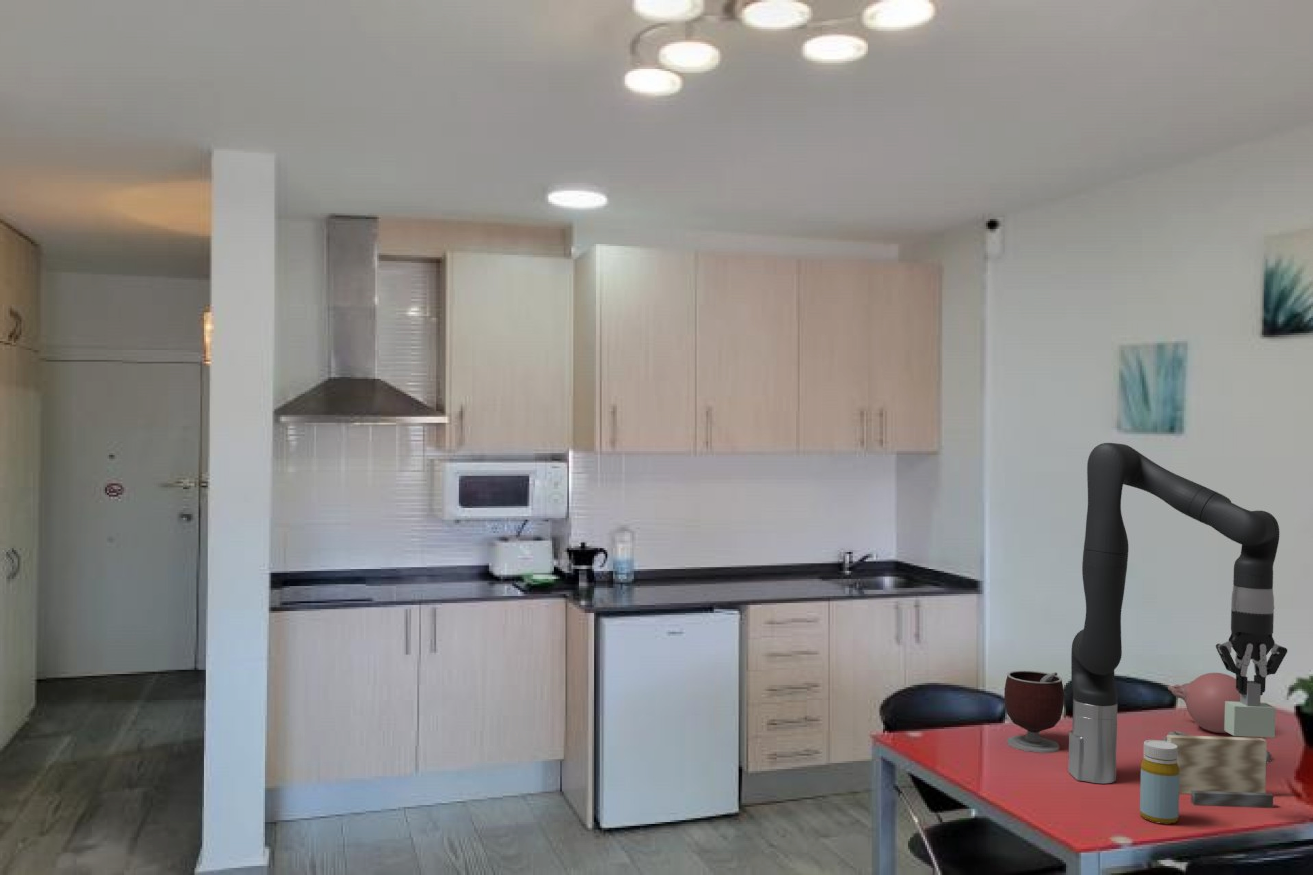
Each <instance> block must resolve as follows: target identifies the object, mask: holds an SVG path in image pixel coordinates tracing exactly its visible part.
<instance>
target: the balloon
mask: <svg viewBox="0 0 1313 875" xmlns="http://www.w3.org/2000/svg"><path fill="white" fill-rule="evenodd" d="M1167 690H1168V691H1170V692H1171V693H1172V695H1173V696H1175V698H1177V699H1181V700H1183V702H1184V703H1185V706H1186V709H1187V712H1188V714H1189V716H1190V718H1191V719H1192V720H1193V721H1194V722H1195V723H1196V725H1198V726H1200V727H1201V728H1203V729H1204V730H1206V731H1209V732H1210V733H1214V734H1215V733H1217V734H1229V733H1228V732H1226V731H1224V723H1225V701H1232V702H1240V693H1239V692H1238V690H1236V677H1234V676H1231V675H1229V674H1227V673H1223V672H1209V673H1204V674H1201V675H1200V676H1198V677H1197V678H1195V679H1194V680H1192V681H1190V682H1189V683H1183V684H1181V685H1179V684H1175V685H1170V686H1168V687H1167Z"/></svg>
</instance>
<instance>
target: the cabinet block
mask: <svg viewBox="0 0 1313 875" xmlns="http://www.w3.org/2000/svg"><path fill="white" fill-rule="evenodd" d="M1261 697H1262V695H1261V684H1259V683H1256V682H1254V680H1247V694H1246V695H1242V694H1240V702H1232V701H1225V723H1224V731H1226V732H1228V733H1227V734H1230V735H1232V737H1246V738H1275V737H1276V711H1277V709H1276V707H1274V706H1273V705H1270V704H1269V703H1267V702H1262V701H1261Z"/></svg>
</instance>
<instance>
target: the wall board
mask: <svg viewBox="0 0 1313 875" xmlns="http://www.w3.org/2000/svg"><path fill="white" fill-rule="evenodd" d="M1166 736H1167V742H1170V743H1173V744H1175V745H1177V747H1178V757H1177V764H1178V767H1179V773H1180V776H1179V795H1180V794H1183V795H1184V794H1186V795H1187V794H1188V795H1190V796H1191V798H1190V799H1191V800H1190V801H1191V802H1190V803H1191V804H1192V805H1194V806H1211V807H1212V806H1214V807H1215V806H1218V807H1242V808H1243V807H1244V808H1246V807H1247V808H1270V807H1273V808H1274V795H1273V794H1272V793H1269V792H1266V778H1267V777H1266V776H1267V774H1266V773H1267V764H1266V750H1267V740H1265V739H1264V738H1263V737H1246V736H1215V735H1214V736H1210V735H1209V736H1208V735H1207V736H1206V735H1190V736H1183V735H1168V734H1167V735H1166Z"/></svg>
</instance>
